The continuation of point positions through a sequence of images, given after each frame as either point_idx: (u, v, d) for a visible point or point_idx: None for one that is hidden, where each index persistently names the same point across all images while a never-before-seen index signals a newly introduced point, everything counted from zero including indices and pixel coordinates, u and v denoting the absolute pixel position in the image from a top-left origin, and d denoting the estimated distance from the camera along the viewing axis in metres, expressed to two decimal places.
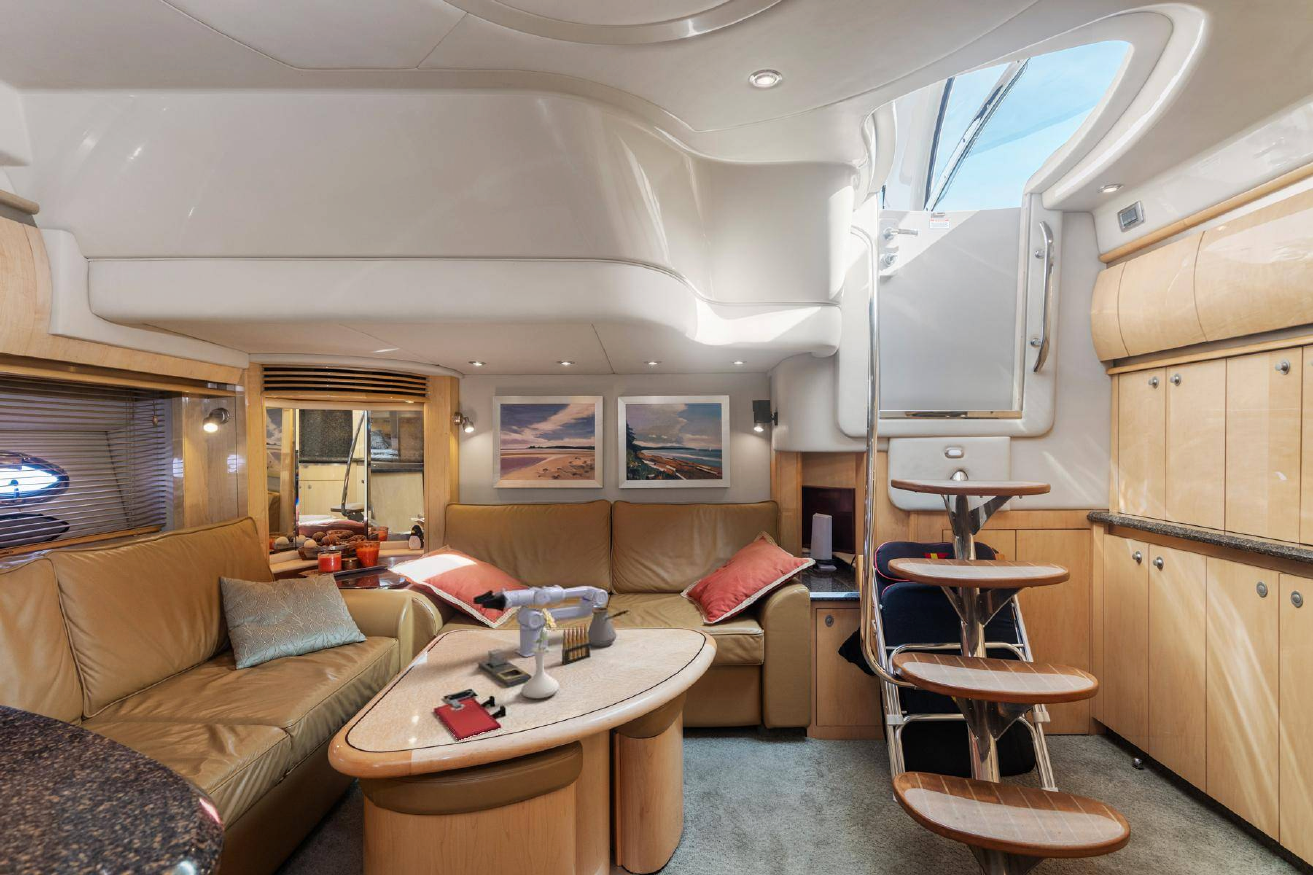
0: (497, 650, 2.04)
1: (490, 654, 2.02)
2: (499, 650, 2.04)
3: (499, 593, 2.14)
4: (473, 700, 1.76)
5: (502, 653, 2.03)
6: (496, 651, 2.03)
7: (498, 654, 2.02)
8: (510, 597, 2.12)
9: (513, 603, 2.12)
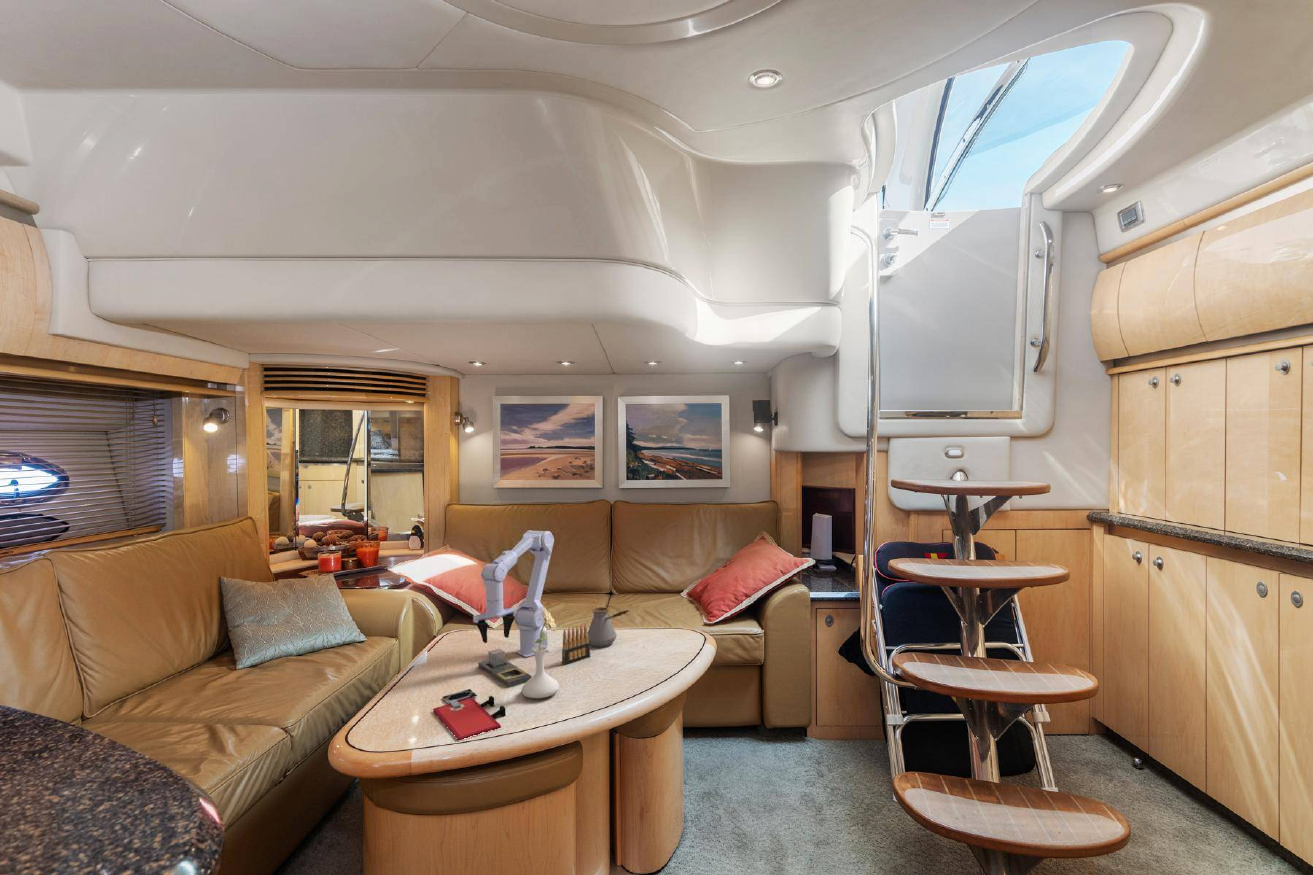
0: (497, 650, 2.04)
1: (490, 654, 2.02)
2: (499, 650, 2.04)
3: None
4: (472, 700, 1.76)
5: (502, 653, 2.03)
6: (496, 651, 2.03)
7: (498, 654, 2.02)
8: None
9: None
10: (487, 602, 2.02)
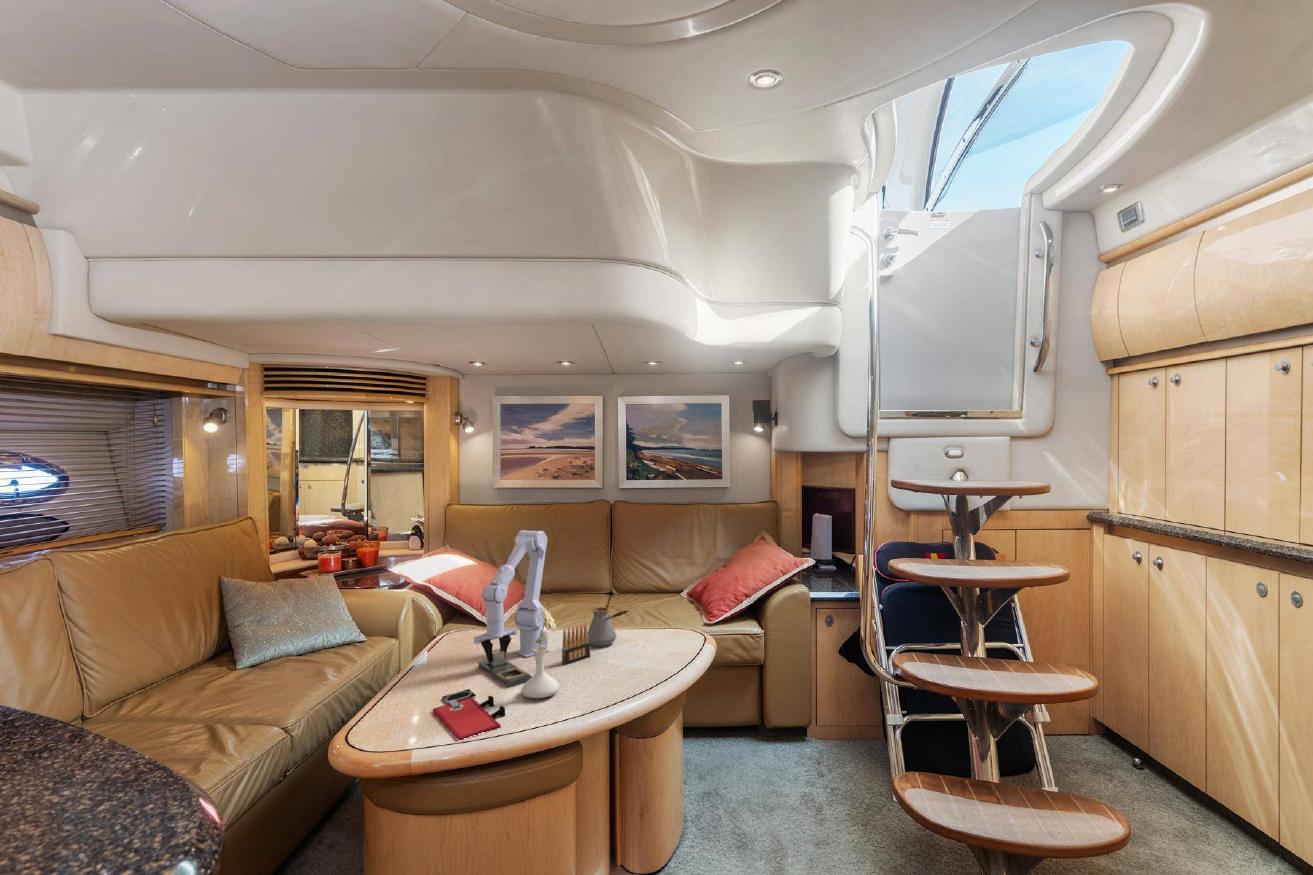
0: (497, 650, 2.04)
1: None
2: (499, 650, 2.04)
3: None
4: (472, 700, 1.76)
5: (502, 653, 2.03)
6: (496, 651, 2.03)
7: (498, 654, 2.02)
8: None
9: None
10: (488, 623, 2.01)
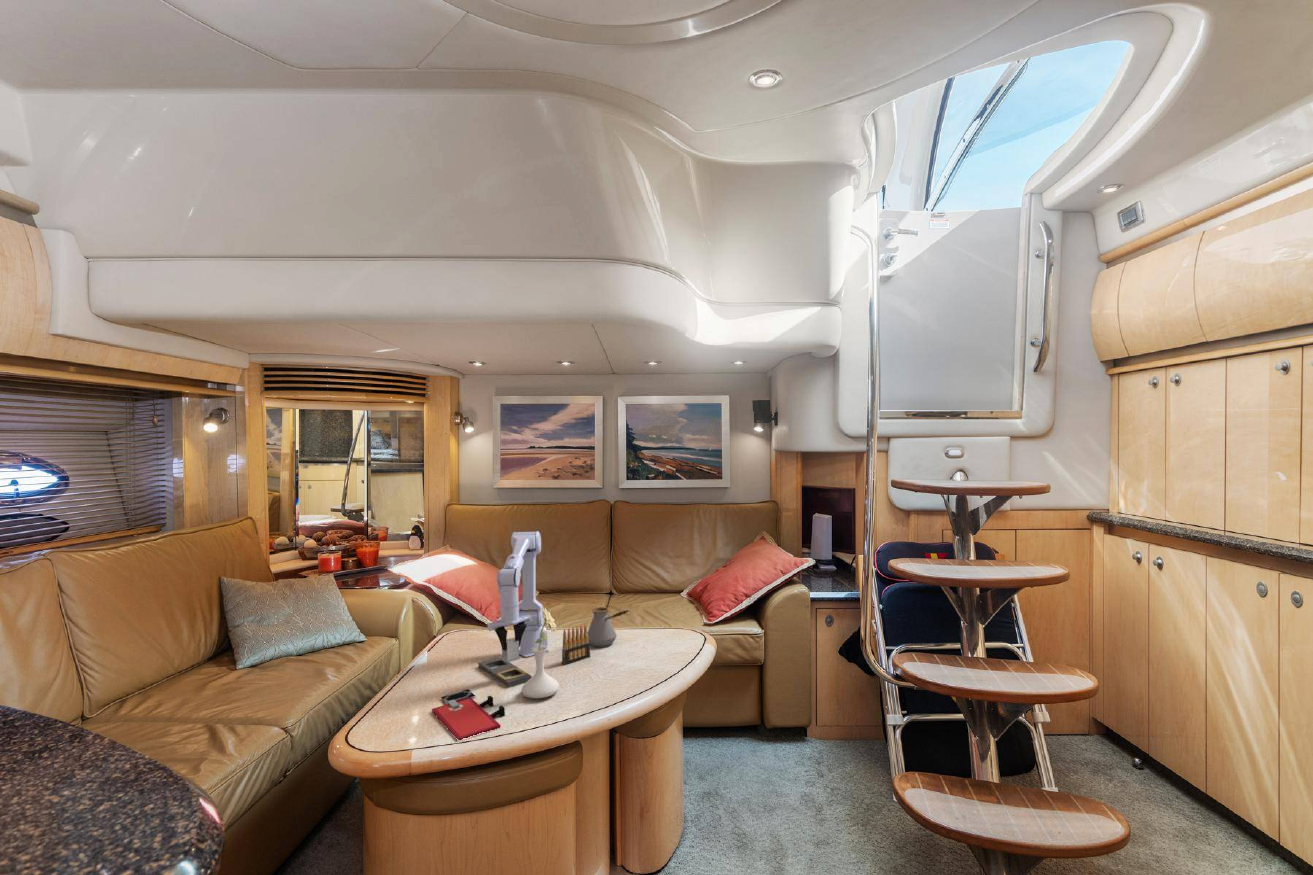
0: (511, 639, 1.95)
1: None
2: (513, 639, 1.95)
3: None
4: (471, 700, 1.75)
5: (517, 642, 1.94)
6: (510, 640, 1.94)
7: (512, 643, 1.93)
8: (518, 613, 1.95)
9: None
10: (502, 609, 1.92)
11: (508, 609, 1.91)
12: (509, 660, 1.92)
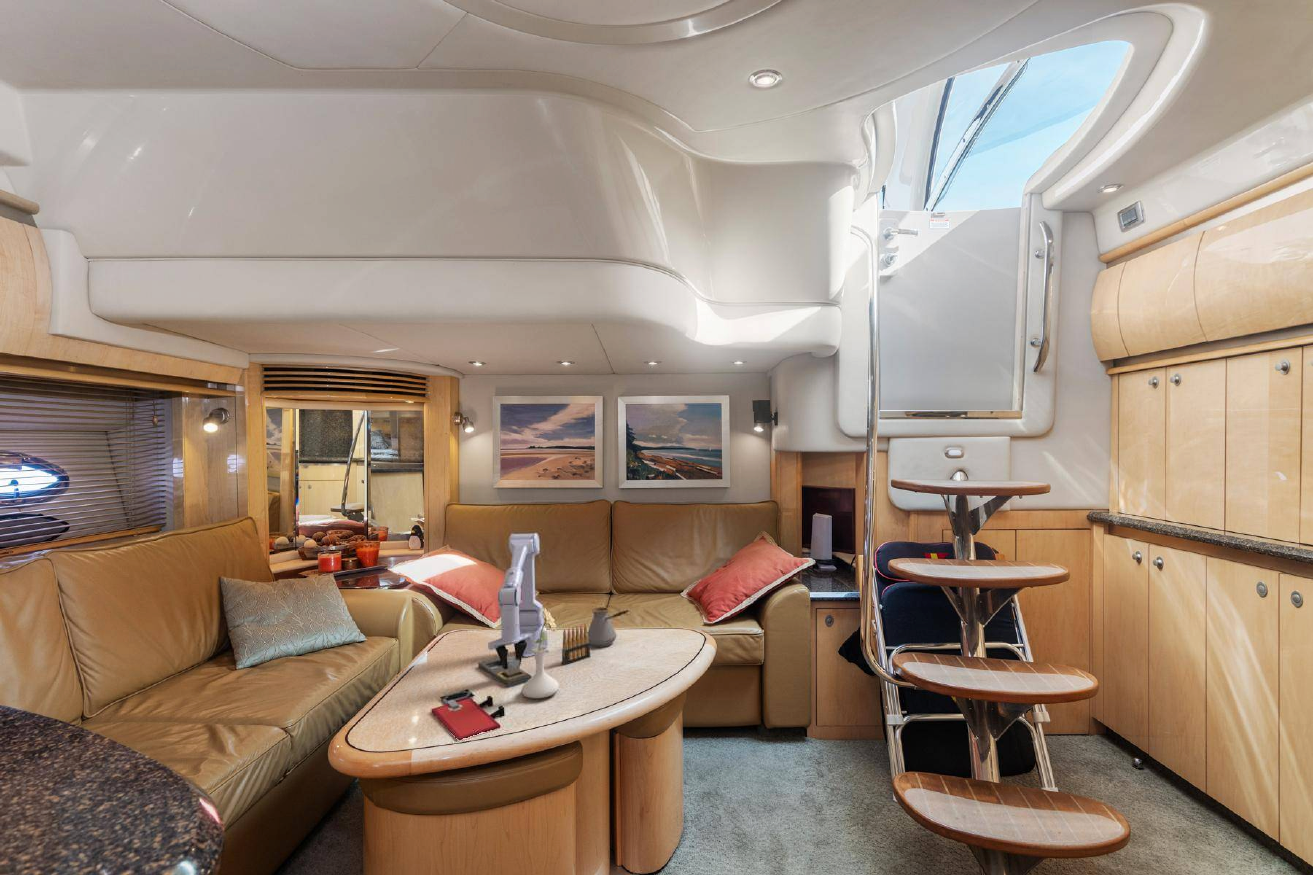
0: (512, 658, 1.95)
1: None
2: (514, 658, 1.95)
3: None
4: (471, 700, 1.75)
5: (517, 661, 1.94)
6: (511, 659, 1.94)
7: (513, 662, 1.93)
8: (519, 632, 1.95)
9: None
10: (502, 628, 1.92)
11: (509, 628, 1.91)
12: None
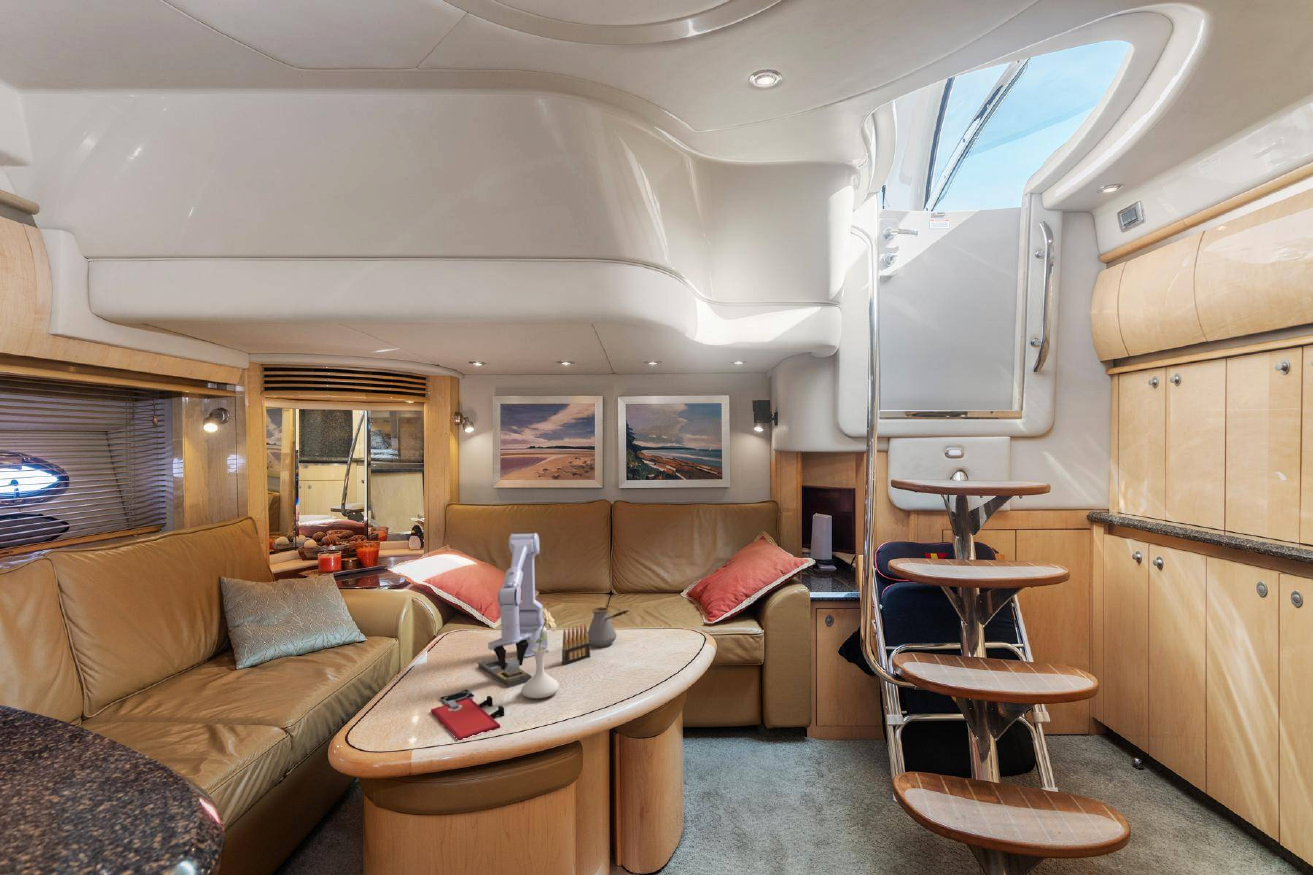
0: (512, 659, 1.95)
1: None
2: (514, 659, 1.95)
3: None
4: (470, 700, 1.75)
5: (517, 662, 1.94)
6: (511, 660, 1.94)
7: (513, 663, 1.93)
8: (519, 632, 1.95)
9: None
10: (502, 628, 1.92)
11: (509, 628, 1.91)
12: None
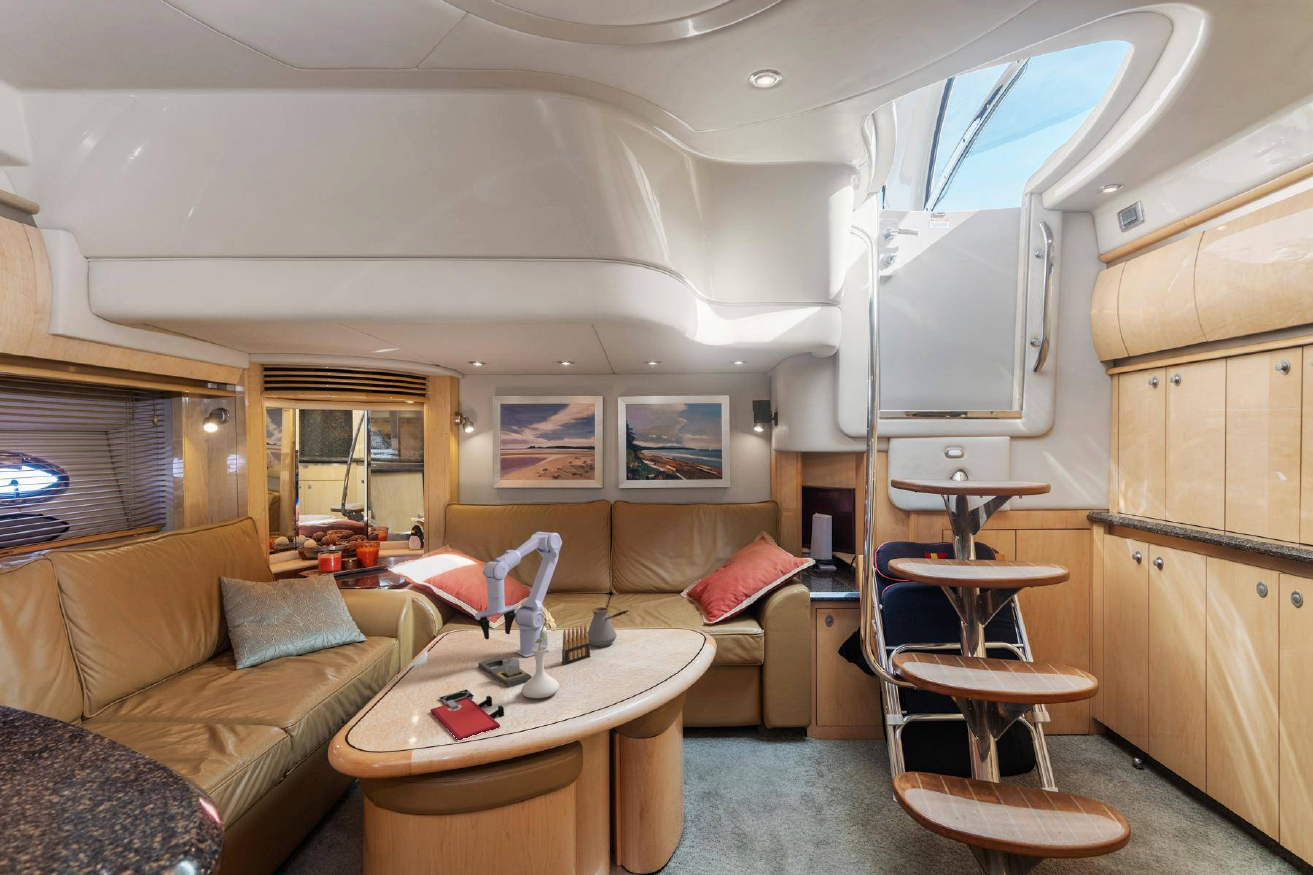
0: (512, 659, 1.95)
1: (505, 663, 1.93)
2: (514, 659, 1.95)
3: None
4: (470, 700, 1.75)
5: (517, 662, 1.94)
6: (511, 660, 1.94)
7: (513, 663, 1.93)
8: (504, 604, 2.08)
9: None
10: (489, 599, 2.05)
11: (494, 599, 2.05)
12: None
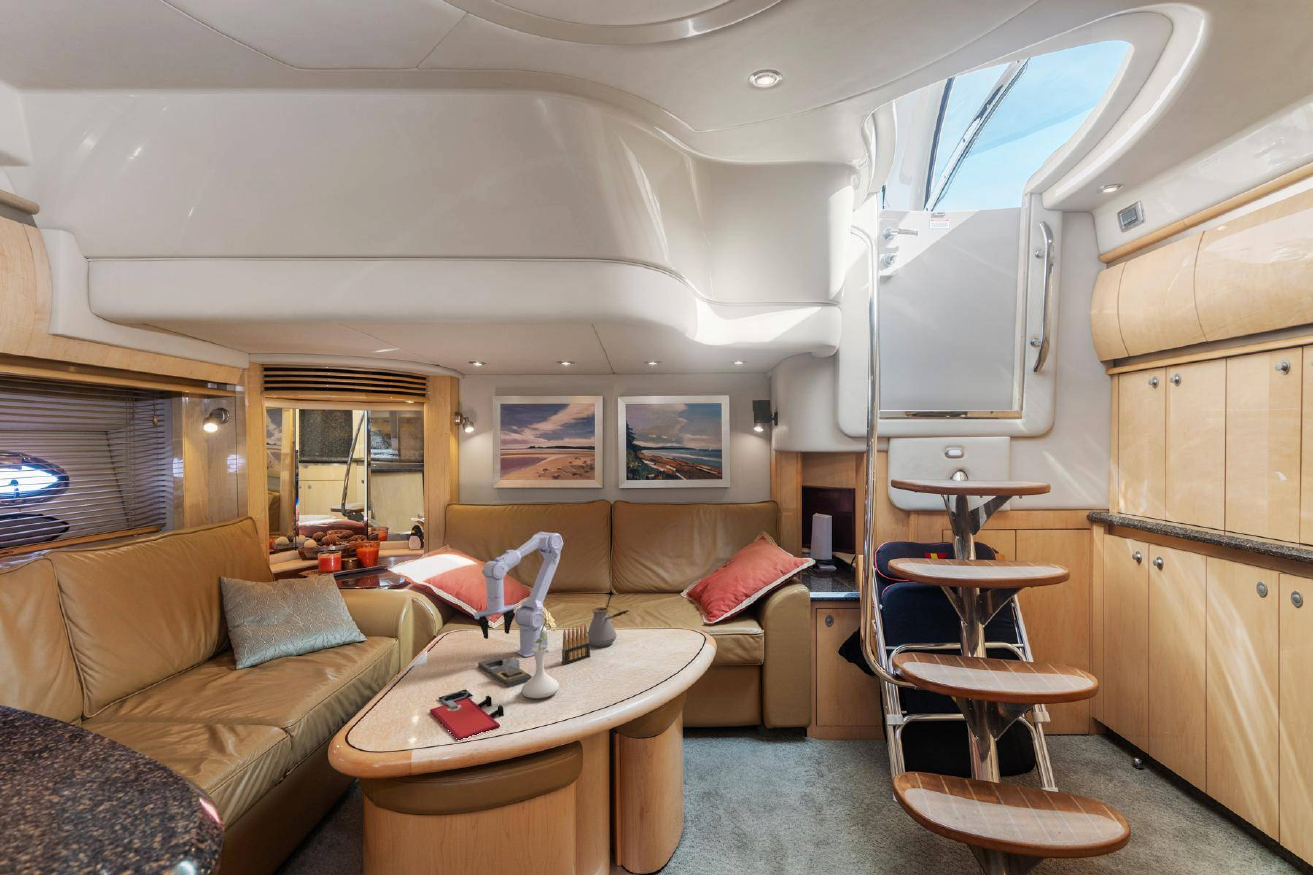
0: (512, 659, 1.95)
1: (505, 663, 1.93)
2: (514, 659, 1.95)
3: None
4: (469, 700, 1.75)
5: (517, 662, 1.94)
6: (511, 660, 1.94)
7: (513, 663, 1.93)
8: (503, 603, 2.09)
9: None
10: (488, 599, 2.06)
11: (494, 599, 2.05)
12: None
